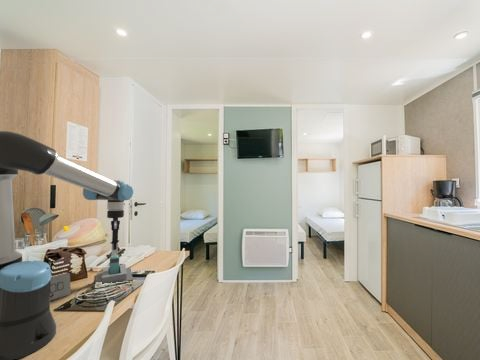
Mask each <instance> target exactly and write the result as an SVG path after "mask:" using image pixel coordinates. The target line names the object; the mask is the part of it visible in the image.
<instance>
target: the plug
mask: <svg viewBox="0 0 480 360" xmlns="http://www.w3.org/2000/svg"><path fill="white" fill-rule="evenodd" d="M119 265H120V255H119V254H118V255H117V256H112V255H111V256H110V257H109V266H110V275H113V274H119Z"/></svg>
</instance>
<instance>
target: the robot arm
mask: <svg viewBox="0 0 480 360" xmlns="http://www.w3.org/2000/svg"><path fill="white" fill-rule="evenodd" d="M19 171H22V172H24V171H25V172H28V173H32V174H35V175H37V176H40V175H46V176H48V177H52V178H54V179H58V180H60V181H62V182H63V181H64V183H65V182H66V183H69V184H71V185H74V186H77V187H79V188H82V196H83V198H84V199H85V200H87V201H99V200H100V201H107V204H106V205H107V206H106V207H107V208H106V210H107V212H106V213H107V214H106V218H108V219H112V220H111V221H110V227H111V228H110V229H111V231H112V234H111V235H112V236H111V237H112V238H111V241H110V244H111V256H117V255H119V253H118V252H119V242H120V240H119V230H120V223H121V221H120V220H119V219H120V218H122V219H123V218H124V215H125V210H124V207H125V205H126V203H125V201H129V200H130V199H132V198H133V195H134V189H133V186H132V185H130V184H127V183H125V182H124V181H123V180H112V179H111V178H108V177H106V176H104V175H102V174H100V173H98V172H96V171H93V170H92V169H89V168H87V167H85V166H84V165H81V164H79V163H78V162H74V161H72V160H70V159H68V158H65V157H63V156H61V155H59V154H58V152H57V151H56V149H54V148H52V147H50V146H48V145H46V144H44V143H41V142H39V141H38V140H35V139H33V138H31V137H28V136H26V135H23V134H21V133H18V132H14V131H13V132H12V131H9V130H0V360H14V359H16V360H19V359H21V358H24V357H26V356H28V355H31V354H32V353H35V352H36V351H38V350H40V349H42V348H43V347H45V346H46V345H47V344H48V343H50V342H51V341H52V340H53V339H54V338H55V336H56V334H57V324H56V323H57V322H56V321H55V319H54V317H53V315H52V312H51V310H50V309H51V301H50V297H51V294H50V283H51V277H52V272H51V271H52V269H51V266H50V265H49V263H47V262H46V261H41V260H26V261H23V254H22V253H21V252H20V251H17V250H16V235H15V234H16V233H15V217H14V216H15V215H14V200H13V199H14V197H13V196H14V195H13V180H14V179H15V178H17V177H18V176H19ZM18 358H19V359H18Z"/></svg>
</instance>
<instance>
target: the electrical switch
mask: <svg viewBox="0 0 480 360" xmlns="http://www.w3.org/2000/svg"><path fill="white" fill-rule="evenodd" d="M71 288H72V287H71V274H70V273H69V272H65V273H60V274H58V275H53V276H51V283H50V302H51V301H54V300H58V299H60V298H63V297H66V296H67V297H68V296H70V295H71V293H72V292H71V291H72V289H71Z"/></svg>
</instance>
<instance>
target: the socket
mask: <svg viewBox="0 0 480 360" xmlns="http://www.w3.org/2000/svg"><path fill="white" fill-rule="evenodd" d="M133 278H134V277H133V273H132V269H131V267H126V264H125V263H123V264H119V274H113V275H110V265H109V266H103V268H102V272H97V273H96V277H95V281H94V284H95V283H96V282H102V284H104V283H111V282H112V283H116V282H123V281H133V282H134V279H133Z"/></svg>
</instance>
